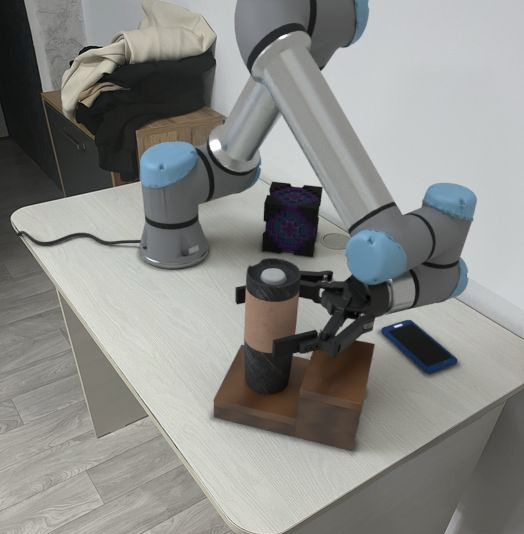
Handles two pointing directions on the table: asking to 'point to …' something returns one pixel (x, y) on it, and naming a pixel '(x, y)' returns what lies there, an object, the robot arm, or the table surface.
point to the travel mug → (269, 322)
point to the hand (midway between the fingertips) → (253, 321)
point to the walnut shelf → (308, 423)
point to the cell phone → (419, 346)
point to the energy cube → (291, 219)
